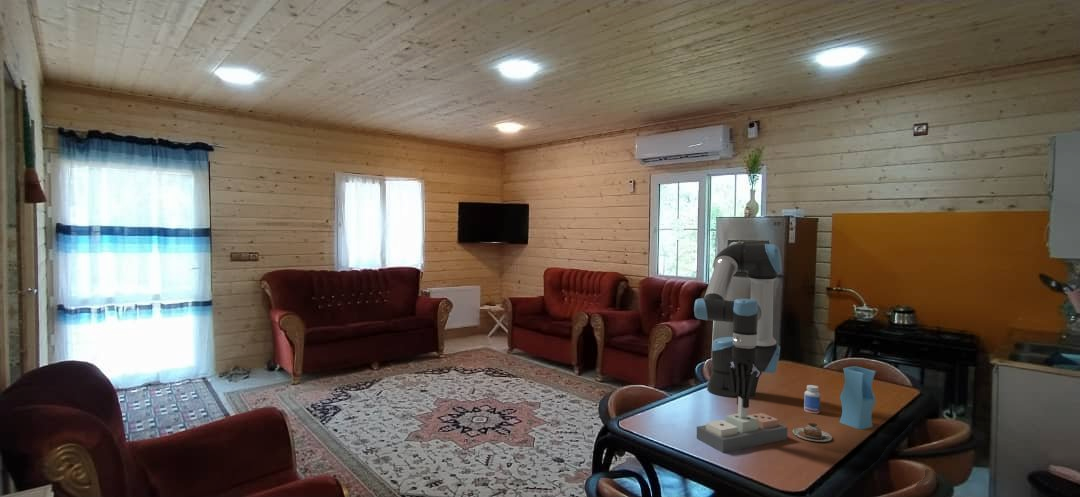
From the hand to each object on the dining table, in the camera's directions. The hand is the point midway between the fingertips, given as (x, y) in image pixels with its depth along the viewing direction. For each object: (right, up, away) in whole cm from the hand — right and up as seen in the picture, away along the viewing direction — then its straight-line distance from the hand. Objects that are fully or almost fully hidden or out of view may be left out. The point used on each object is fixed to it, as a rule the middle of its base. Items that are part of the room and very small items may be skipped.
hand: (742, 416), depth 176 cm
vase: (+47, -8, +15) cm, 50 cm away
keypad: (0, -8, 0) cm, 8 cm away
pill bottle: (+38, -7, +29) cm, 48 cm away
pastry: (+25, -9, +4) cm, 27 cm away
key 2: (0, -4, 0) cm, 4 cm away
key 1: (-8, -6, -3) cm, 10 cm away
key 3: (+8, -6, +4) cm, 11 cm away
